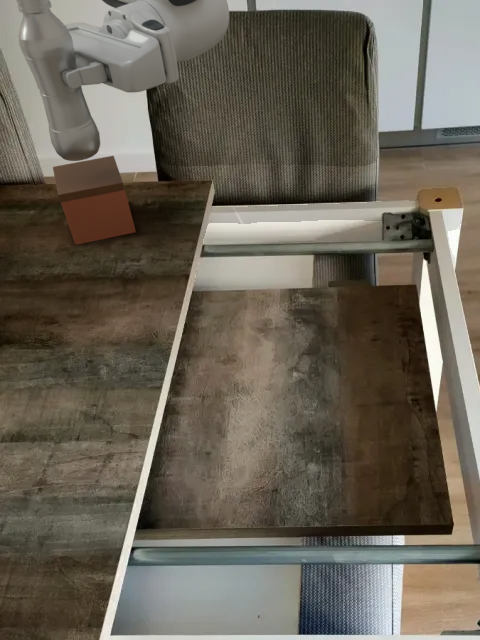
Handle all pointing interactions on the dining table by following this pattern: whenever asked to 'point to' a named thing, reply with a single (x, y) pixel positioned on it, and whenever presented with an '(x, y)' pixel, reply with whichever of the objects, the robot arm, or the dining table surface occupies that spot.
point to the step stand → (93, 199)
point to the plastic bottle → (57, 81)
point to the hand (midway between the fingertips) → (49, 74)
